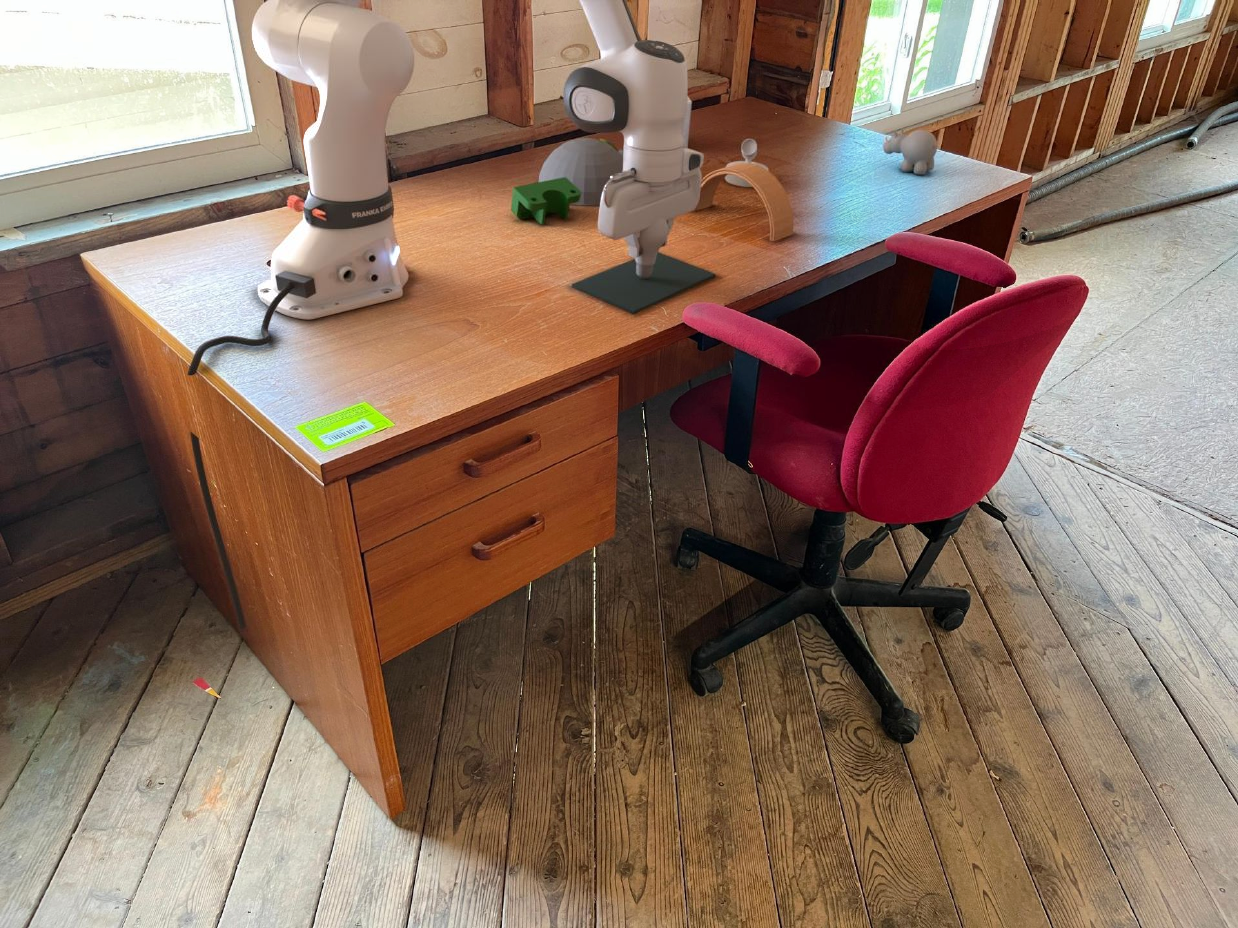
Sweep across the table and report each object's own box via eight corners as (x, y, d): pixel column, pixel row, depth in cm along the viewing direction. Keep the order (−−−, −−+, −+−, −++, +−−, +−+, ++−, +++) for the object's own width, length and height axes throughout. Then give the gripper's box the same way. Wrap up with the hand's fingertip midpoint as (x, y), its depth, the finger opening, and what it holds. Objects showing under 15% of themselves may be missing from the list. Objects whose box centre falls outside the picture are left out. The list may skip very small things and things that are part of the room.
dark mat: (633, 314, 138) (633, 311, 138) (571, 287, 145) (571, 284, 145) (715, 276, 151) (715, 274, 151) (654, 253, 158) (654, 250, 157)
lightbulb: (654, 269, 151) (661, 203, 145) (668, 285, 146) (676, 217, 140) (619, 271, 149) (624, 204, 143) (631, 287, 145) (637, 219, 138)
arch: (709, 203, 179) (715, 151, 173) (792, 234, 168) (801, 179, 162) (689, 210, 176) (694, 156, 170) (772, 242, 164) (780, 186, 158)
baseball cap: (680, 175, 186) (674, 118, 178) (587, 236, 175) (575, 178, 167) (614, 152, 197) (606, 97, 189) (523, 208, 186) (509, 152, 178)
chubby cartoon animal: (888, 158, 208) (896, 119, 203) (937, 171, 201) (947, 131, 196) (871, 164, 203) (879, 124, 199) (921, 178, 197) (930, 137, 192)
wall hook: (727, 138, 182) (731, 125, 190) (722, 186, 187) (726, 171, 195) (771, 142, 181) (774, 128, 189) (765, 191, 186) (767, 175, 194)
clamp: (534, 246, 169) (522, 210, 161) (517, 228, 172) (505, 192, 164) (588, 213, 171) (579, 175, 163) (570, 196, 174) (560, 158, 166)
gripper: (621, 183, 129) (618, 275, 137) (711, 153, 142) (703, 239, 150) (588, 172, 133) (587, 263, 141) (678, 143, 145) (672, 228, 153)
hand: (647, 250), depth 145 cm, fingers closed on lightbulb, 4 cm apart
